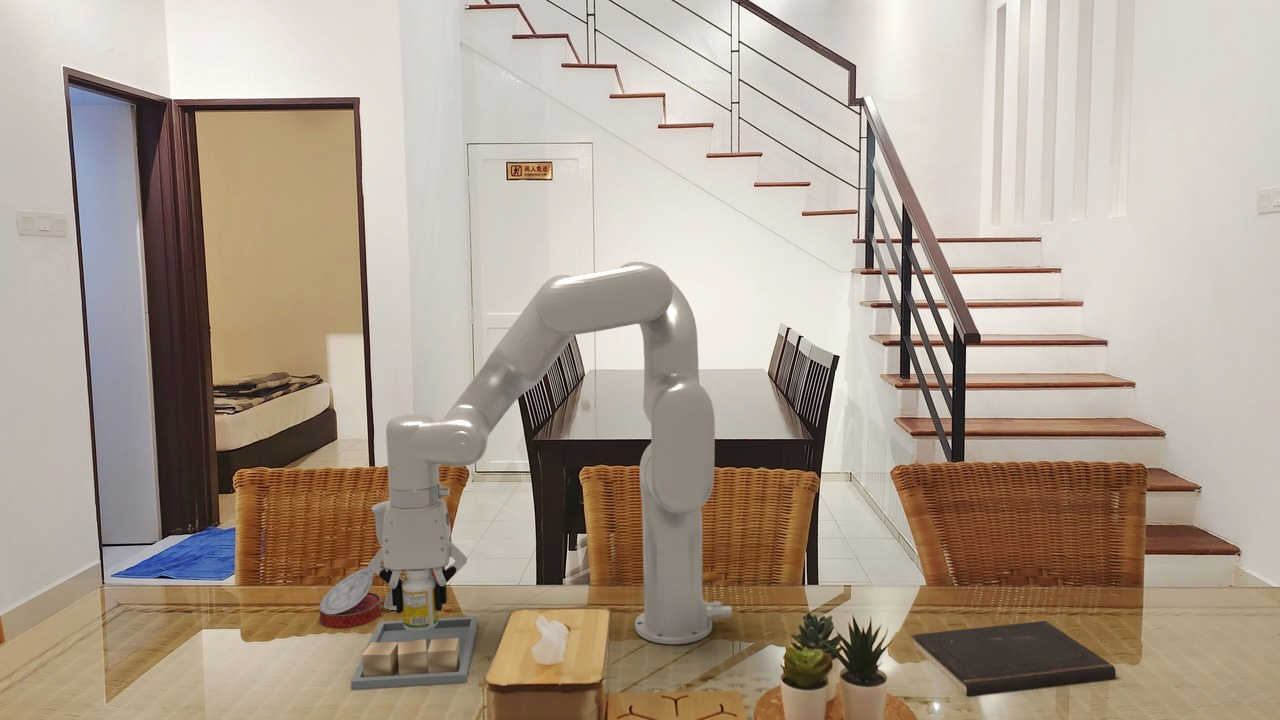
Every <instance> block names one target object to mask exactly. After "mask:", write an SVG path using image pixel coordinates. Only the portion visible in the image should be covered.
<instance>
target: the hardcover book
mask: <svg viewBox="0 0 1280 720" xmlns="http://www.w3.org/2000/svg"><path fill="white" fill-rule="evenodd" d="M911 638H912V639H913V642H912V644H913V647H914V648H915V649H916V650H918V652H919V653H921V654H922V655H923V656H924V657H925V658H926V659H927V660H928V661H929V662H930V663H931V664H933V666H935V667H936V668H937V669H938V670H939V671H941V673H942V674H943V675H945V677H947V678H948V679H949V680H950V681H951V682H952V683H953V684H954V685H956V686H957V687H958V688H959V689H960V690H961V691H962V692H963V693H964V694H965V696H966V697H973V696H981V695H988V694H989V695H990V694H998V693H1007V692H1014V691H1016V692H1017V691H1023V690H1024V691H1025V690H1032V689H1041V688H1048V687H1049V688H1051V687H1057V686H1067V685H1074V684H1083V683H1093V682H1100V681H1108V680H1116V677H1117V675H1116V674H1117V673H1116V671H1117V670H1116V668H1115V666H1114V665H1113V664H1112V663H1110V662H1108V661H1107V660H1106V659H1104V658H1103V657H1101V656H1100V655H1099V654H1097V653H1095V652H1093V651H1092V650H1090V649H1089V648H1088V647H1086V646H1084V644H1081V643H1079V642H1078V641H1077V640H1075V639H1073V638H1072V637H1070V636H1069V634H1068V635H1067V634H1066V633H1065V632H1063V631H1061V630H1060V629H1058V628H1057V627H1055V626H1054V625H1053V624H1051V623H1049V622H1048V621H1046V620H1041V621H1032V622H1023V623H1022V622H1021V623H1013V624H1012V623H1011V624H1003V625H994V626H993V625H992V626H984V627H974V628H964V629H956V630H947V631H945V630H944V631H935V632H926V633H917V634H911Z"/></svg>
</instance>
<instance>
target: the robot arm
mask: <svg viewBox="0 0 1280 720" xmlns="http://www.w3.org/2000/svg"><path fill="white" fill-rule="evenodd" d="M633 325H639V326H640V331H641V335H642V341H643V358H644V361H643V365H644V366H643V367H644V368H643V370H644V374H643V375H644V376H643V383H644V384H643V400H642V405H643V411H644V414H645V416H646V418H647V420H648V421H649V423H650V427H651V428H650V432H651V435H650V437H651V438H650V440H651V443H650V444H648V445H647V447H646V448H645V450H644V451H643V453H642V456H641V459H640V463H639V486H640V487H639V488H640V497H641V513H642V555H643V556H642V559H643V561H642V563H643V566H642V567H643V601H644V602H643V607H644V610H643V612H642V613H640V614H639V615H638V616H637V617H636V618H635V620H634V621H635V622H634V629H635V632H636V633H637V634H638V636H640V637H641V638H643V639H645V640H646V641H649V642H653V643H656V644H662V645H684V644H690V643H694V642H699V641H701V640H702V639H704V638H706V637H708V635H709V634H711V632H712V630H713V619H717V618H718V619H719V618H720V619H730V618H732V616H733V614H732V613H733V610H732V606H731V605H722V602H721V601H711V602H707V600H705V599H704V597H703V538H702V537H703V521H702V520H703V518H702V507H704V505H705V504H706V503H707V501H708V500H709V498H710V497H711V496H712V495H711V494H712V492H713V488H714V483H715V455H716V453H715V448H716V447H715V445H716V444H715V441H716V440H715V438H716V433H715V432H716V428H715V423H716V421H715V411H714V406H713V402H712V398H711V397H710V395H709V393H708V392H707V391H706V389H705V388H704V387H703V386H702V385H701V383H700V376H699V371H700V370H699V351H698V350H699V349H698V348H699V345H698V330H697V324H696V319H695V316H694V313H693V309H692V308H691V306H690V303H689V302H688V300H687V298H686V297H685V295H684V293H683V291H682V290H681V289H680V288H679V287H678V286H677V284H675V282H673V280H671V279H670V277H669V275H668V274H667V272H665V271H664V270H663V269H662V268H661V267H659V266H657V265H655V264H651V263H647V262H643V261H631V262H627V263H625V264H623V265H621V266H620V267H619V268H614V269H610V270H604V271H598V272H593V273H585V274H577V275H568V274H559V275H555V276H552V277H551V278H549V279H548V280H546V281H545V283H543V284H542V286H541V287H540V288H539V289H538V291H537V292H536V294H535V295H534V296H533V298H531V300H530V301H529V302H528V304H527V306H526V307H525V308H524V309H523V310H522V312H521V313H520V315H519V316H518V317H517V319H516V320H515V321H514V322H513V324H512V325H511V326H510V327H509V329H508V330H507V331H506V333H505V335H504V336H503V337H502V338H501V340H500V341H499V342H498V344H496V347H494V349H493V350H492V352H491V353H490V354H489V356H488V357H487V359H486V361H485V363H484V364H483V366H482V367H481V368H480V370H479V371H478V372H477V374H476V375H475V376H474V377H473V379H472V381H471V382H470V383H469V384H468V386H467V387H466V388H465V390H464V391H463V392H462V393H461V394H460V396H459V397H458V399H457V400H456V402H455V403H454V404H453V405H452V406H451V408H450V409H449V411H448V412H447V414H446V415H445V416H444V418H443V419H442V420H435V419H434V418H433V417H431V416H430V415H429V416H428V415H426V414H406V415H405V414H404V415H399V416H396V417H394V418H391V419H390V420H389V421H388V422H387V423H386V426H385V427H386V428H385V438H386V440H385V441H386V454H387V456H386V457H387V474H388V476H387V477H388V491H389V493H388V495H389V496H388V497H389V501H390V503H388V504H387V505H386V509H385V515H384V525H383V547H381V548H380V549H379V550H378V551H377V553H376V554H375V556H374V557H373V558H372V559H370V561H369V563H368V565H367V567H368V568H369V569H370V570H372V571H373V572H374V574H376V575H378V576H379V578H380V579H381V580H382V581H384V582H385V583H386V584H388V587H389V588H390V589H391V591H392V602H393V606H396V610H397V611H396V613H397V614H401V613H403V605H402V583H403V580H402V578H401V579H400V577H402V573H403V571H405V570H422V569H432V572H433V574H434V576H435V579H436V581H437V584H436V587H435V595H436V610H437V611H438V612H441V611H442V608H443V606H444V604H447V602H448V601H447V600H448V593H447V592H448V591H447V583H448V582H449V581H450V580H451V579H452V578H453V577H454V576H455V575H456V573H457V572H458V571H460V570H461V569H462V568H463V567H464V566H465V565H466V564H467V563H468V562H467V561H468V557H467V556H466V555H465V554H464V553H463V552H462V551H461V550H460V549H459V548H458V547H457V546H456V545H455V544H454V543H453V539H452V530H451V523H450V516H449V511H448V506H447V503H446V501H445V500H444V499H442V498H444V497H449V496H450V487H449V486H447V487H446V486H443V485H442V484H441V482H440V469H439V465H440V466H448V467H450V466H451V467H467V466H471V465H474V464H475V463H477V462H479V461H480V460H481V459H482V457H483V456H484V454H485V453H486V451H487V447H488V440H489V436H490V434H491V433H492V431H493V430H495V428H496V426H497V425H498V424H499V422H500V421H501V420H502V418H503V417H504V415H505V414H506V413H507V412H508V410H509V409H510V408H511V406H512V405H514V403H515V402H516V401H517V400H518V399H519V398H520V397H521V396H522V395H523V394H525V393H526V392H527V391H529V390H531V389H533V388H534V387H535V386H537V384H538V383H540V382H541V380H542V379H543V378H544V376H545V375H546V374H547V373H548V371H549V370H550V368H552V365H554V363H555V362H556V360H557V359H558V358H559V356H560V355H562V353H563V351H564V349H566V347H567V346H568V344H570V342H571V341H572V339H573V338H574V337H575V336H576V335H581V334H589V333H595V332H601V331H602V332H603V331H607V330H612V329H617V328H621V327H622V328H623V327H628V326H633ZM450 558H452V559H453V560H454V561H453V563H451V564H450V565H449V563H450ZM448 565H449V566H448ZM447 566H448V567H447ZM446 567H447V568H446Z"/></svg>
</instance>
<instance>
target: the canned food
mask: <svg viewBox="0 0 1280 720" xmlns="http://www.w3.org/2000/svg"><path fill="white" fill-rule="evenodd" d="M374 575H375V572H373V571H372V570H370V569H369V568H368V566H366V567H364V568H360V569H358V570H357V571H354V572H353V573H350V574H349V575H348V576H345V578H343V579H342V580H340V581H339V582H338V583H336V584H335V585H334V586H332V587H331V588H329V590H328V592H327V593H326V594H325V595H324V596H323V597H322V600H321V602H320V604H319V607H318V608H319V620H320V623H321V625H323V626H324V627H325V626H326V627H329V628H334V629H344V628H345V629H347V628H353V627H354V628H355V627H359V626H362V625H366V624H369V623H370V622H373V621H375V620H376V619H377V618H381V617H382V616H381V615H382V614H381V613H382V611H381V597H380V596H379V595H378V594H376V593H373V592H370V590H371V587H372V585H373V580H374V579H373V578H374Z"/></svg>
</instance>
